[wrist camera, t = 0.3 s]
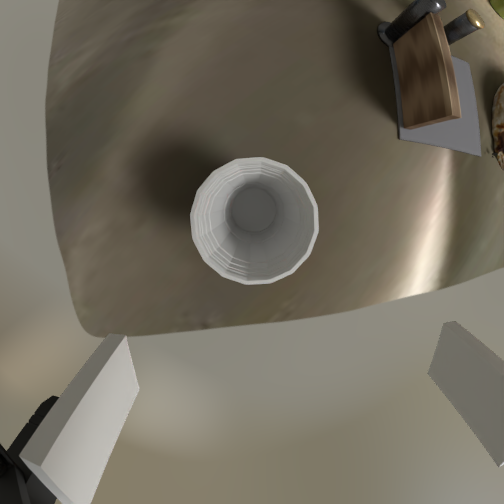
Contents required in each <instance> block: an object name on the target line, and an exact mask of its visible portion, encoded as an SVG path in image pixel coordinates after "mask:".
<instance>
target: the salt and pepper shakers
mask: <svg viewBox="0 0 504 504" xmlns="http://www.w3.org/2000/svg"><path fill="white" fill-rule="evenodd" d="M444 8H446V3H445V1H444V0H415V1H413V2H412V3H411V4H410V5H409V6H408V7H407V8H406V9H405V10H404V11H403V12H402V13H401V14H400V15H399V16H398V17H397V18H396V19H395V20H394V21H393V22H392V23H390V22H383V23H381V24H380V25H379V26H378V28H377V33H378V36H379V38H380V39H381V40H382V42H383V43H384V44H385V45H387V46H388V47H389V46H391V47H393V48H394V46H393V43H395V42H396V41H397V40H398V39H399V38H401V37H402V36H403V35H404V34H405V33H407V32H408V31H409V30H410V29H411V28H413V27H414V26H415V25H416V24H418V23H419V22H420V21H421V20H423V19H424V18H425V17H426V16H427V15H428V14H429V13H430V12H431V13H434V14H438V13H439V12H440V11H442V10H443V9H444ZM484 26H485V24H484V21H483V19H482V18H481V16H480V15H479V14H478V13H477V12H476V11H474V10H473V9H469V10H467V11H466V12H465V13H464V14H462V15H461V16H459V17H458V18H456V19H454V20H453V21H451V22H450V23H448V24H447V25H445V26H444V27H443V28H444V31H445V35H446V38H447V42H448V46H449V45H450V44H452V43H454V42H456V41H458V40H459V39H461V38H463V37H465V36H467V35H469V34H470V33H472V32H474V31H476V30H478V29H482V28H484Z"/></svg>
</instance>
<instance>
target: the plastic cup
mask: <svg viewBox="0 0 504 504" xmlns="http://www.w3.org/2000/svg"><path fill="white" fill-rule="evenodd" d="M190 220H191V230H192V239H193V241H194V243H195V245H196V247H197V249H198V251H199V252H200V254H201V256H202V258H203V260H204V261H205V262H206V263H207V264H208V265H209V266H211V267H212V268H213V269H214V270H215V271H217V272H218V273H219V274H220V275H221V276H222V277H225V278H228V279H231V280H234V281H237V282H240V283H243V284H246V285H248V284H269V283H272V282H275V281H277V280H279V279H281V278H283V277H286V276H288V275H290V274H292V273H293V272H294V271H295V270H296V269H297V268H298V267H299V266H300V265H301V264H302V263H303V262H304V261H305V260H306V259H307V258H308V257H309V255H310V253H311V251H312V248H313V245H314V243H315V240H316V237H317V235H318V232H319V227H318V206H317V204H316V202H315V199H314V197H313V195H312V193H311V191H310V189H309V187H308V185H307V183H306V182H305V181H304V180H303V179H302V178H301V177H300V176H298V175H297V174H296V173H295V172H294V171H293V170H292V169H291V168H289V167H288V166H287V165H284V164H281V163H279V162H276V161H273V160H270V159H267V158H263V157H256V158H243V159H235V160H233V161H231V162H229V163H228V164H226V165H224V166H222V167H220V168H218V169H216V170H214V171H213V172H212V173H211V174H210V176H209V177H208V178H207V179H206V180H205V182H204V183H203V184H202V185H201V186H200V188H199V189H198V190H197V193H196V196H195V199H194V203H193V206H192V209H191V213H190Z"/></svg>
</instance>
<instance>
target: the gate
mask: <svg viewBox="0 0 504 504" xmlns="http://www.w3.org/2000/svg"><path fill="white" fill-rule="evenodd" d="M393 46H394V52H395V57H396V63H397V70H398V76H399V84H400V92H401V101H402V112H403V124H404V129H409V130H412V129H416V128H420V127H424V126H427V125H432V124H436V123H440V122H444V121H448V120H453V119H459V118H461V109H460V102H459V95H458V89H457V83H456V77H455V72H454V67H453V63H452V58H451V54H450V50H449V46H448V42H447V38H446V35H445V31H444V28H443V25H442V21H441V18H440V16H438V15H436V14H434V13H431V12H430V13H429V14H428V15H427V16H426V17H425V18H424V19H423V20H421V21H420V22H419V23H418V24H416V25H415V26H414V27H413V28H411V29H410V30H409V31H408V32H407V33H405V34H404V35H403V36H402V37H401V38H399V39H398V40H397V41H396V42H395V43H393Z"/></svg>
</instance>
